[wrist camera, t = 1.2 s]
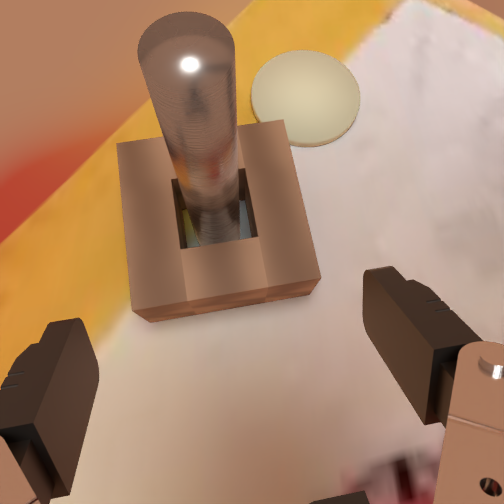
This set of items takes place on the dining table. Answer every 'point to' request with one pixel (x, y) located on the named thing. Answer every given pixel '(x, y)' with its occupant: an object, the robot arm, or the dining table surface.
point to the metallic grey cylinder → (197, 116)
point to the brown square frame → (221, 254)
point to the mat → (306, 96)
